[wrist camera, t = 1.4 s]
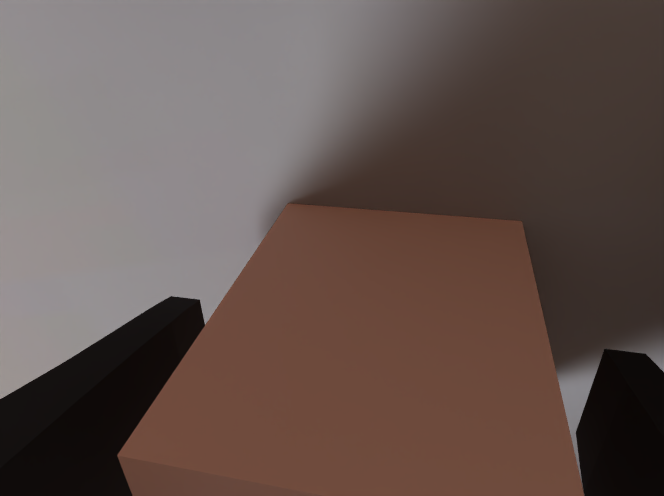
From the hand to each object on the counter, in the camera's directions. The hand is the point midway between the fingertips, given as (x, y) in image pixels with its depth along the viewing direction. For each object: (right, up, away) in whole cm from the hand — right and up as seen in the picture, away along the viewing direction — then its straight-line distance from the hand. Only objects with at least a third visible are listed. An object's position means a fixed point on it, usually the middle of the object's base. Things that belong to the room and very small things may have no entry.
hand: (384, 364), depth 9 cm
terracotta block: (0, +1, +2) cm, 2 cm away
